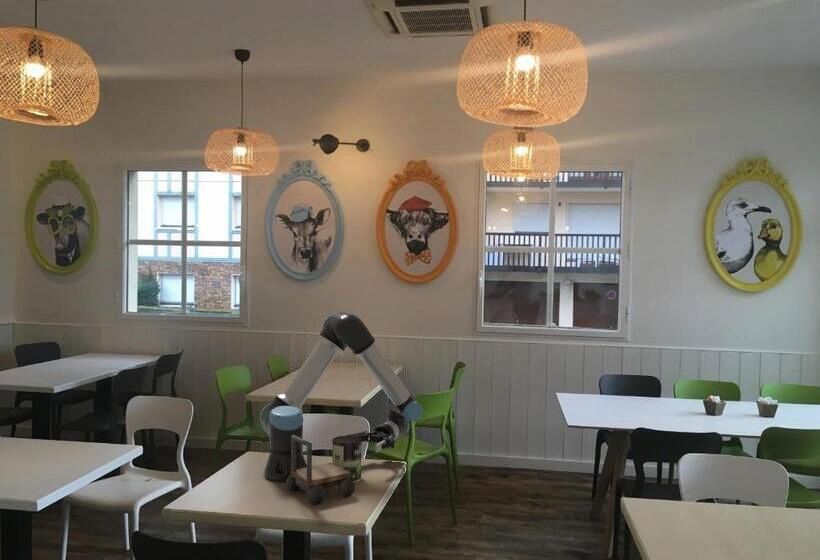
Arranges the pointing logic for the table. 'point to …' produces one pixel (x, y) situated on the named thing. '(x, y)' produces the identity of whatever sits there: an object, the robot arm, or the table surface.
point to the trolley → (317, 476)
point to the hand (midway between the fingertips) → (359, 446)
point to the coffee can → (348, 455)
